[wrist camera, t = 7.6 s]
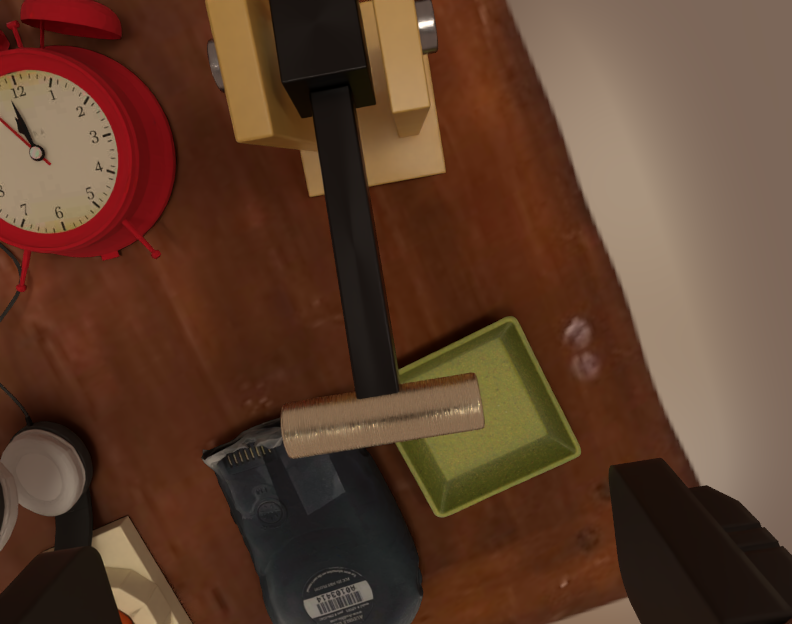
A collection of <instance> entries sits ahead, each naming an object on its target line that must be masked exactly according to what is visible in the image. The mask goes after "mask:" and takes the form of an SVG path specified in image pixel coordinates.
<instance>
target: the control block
mask: <svg viewBox="0 0 792 624" xmlns="http://www.w3.org/2000/svg"><path fill="white" fill-rule="evenodd" d="M91 546H92V547H94V548H95V549H97V551H98V552H99V553H100V555H101V557H102V560H103V563H104V566H105V570H106V573H107V576H108V579H109V583H110V586H111V589H112V592H113V595H114V599H115V602H116V605H117V608H118V610H119V611H121V612H122V613H124V614H125V615H126V616H128V618H129V619H130V620H131V621H132V623H133V624H192V622H191V621H190V619H189V617H188V616H187V614H186V612H185V611H184V609H183V607H182V605H181V604H180V602H179V600H178V599H177V597H176V595H175V594H174V592H173V590H172V589H171V587H170V585H169V584H168V582H167V580H166V579H165V577H164V575H163V574H162V572H161V570H160V569H159V567H158V565H157V564H156V562H155V560H154V559H153V557H152V555H151V554H150V552H149V550H148V549H147V547H146V545H145V544H144V542H143V540H142V539H141V537H140V535H139V533H138V532H137V530H136V528H135V527H134V525H133V523H132V522H131V520H130V518H129V517H128V516H126V517H124V518H121V519H119V520H117V521H114V522H112V523H110V524H107V525H105V526H103V527H100V528H98V529H96V530H93V535H92V545H91ZM51 551H54V548H51V549H49V550H47V551H44V552H51ZM44 552H42V553H44Z"/></svg>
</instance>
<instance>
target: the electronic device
mask: <svg viewBox="0 0 792 624" xmlns="http://www.w3.org/2000/svg"><path fill="white" fill-rule="evenodd" d="M280 418H281V417H280ZM280 418H277V419H274V420H271V421H268V422H265V423H262V424H260V425H257V426H254V427H252V428H250V429H248V430H246V431H244V432H242V433H241V434H240V435H238V436H237V437H236V438H235V439H233V440H232V441H230V442H228V443H226V444H223V445H220V446H217V447H215V448H213V449H211V450H203V455H202V460H203V461H204V463H205V464H206V465H208V466H209V467H210V468H211V469H213V470H214V471H215V474H216V476H217V479H218V483H219V485H220V487H221V489H222V491H223V493H224V496H225V498H226V500H227V502H228V504H229V507H230V511H231V516H232V518H233V520H234V522H235V523H236V524H237V525H238V528H239V530H240V533H241V535H242V536H243V540H244V542H245V545H246V547H247V548H248V550H249V552H250V555H251V558H252V560H253V563H254V566H255V570H256V572H257V574H258V576H259V578H260V584H261V588H262V592H263V600H264V603H265V606H266V609H267V612H268V614H269V616H270V618H271V620H272V622H273V624H411V622H412V621H413V619H414V617H415V615H416V613H417V611H418V610H419V607H420V604H421V601H422V597H423V589H422V586H421V583H422V575H421V572H420V569H419V567H418V564H419V557H418V553H417V550H416V547H415V544H414V541H413V539H412V536H411V534H410V532H409V530H408V527H407V525H406V523H405V521H404V519H403V517H402V514H401V511H400V510H399V508H398V506H397V503H396V501H395V499H394V497H393V495H392V494H391V491H390V489H389V487H388V485H387V483H386V482H385V480H384V478H383V476H382V474H381V472H380V471H379V469H378V467H377V465H376V463H375V461H374V460H373V458H372V456H371V455H370V453H369V452H368V451H367V450H366V448H359V449H353V450H347V451H341V452H334V453H328V454H322V455H315V456H309V457H303V458H296V459H293V458H290V457H289V456H288V454H287V452H286V450H285V447H284V444H283V439H282V434H281V422H280Z"/></svg>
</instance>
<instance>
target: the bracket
mask: <svg viewBox="0 0 792 624" xmlns="http://www.w3.org/2000/svg"><path fill="white" fill-rule="evenodd" d="M205 4H206V8H207V13H208V17H209V22H210V26H211V31H212V35H213V39H210V40H209V41H208V44H207V52H208V59H209V64H210V68H211V71H212V74H213V77H214V80H215V82H216V84H217V86H218V88H219V89H220V91H221V92H223V93H225V94H226V98H227V103H228V107H229V112H230V116H231V121H232V125H233V130H234V134H235V139H236V141H237V142H238V143H245V144H254V145H262V146H271V147H280V148H288V149H297V150H300V154H301V159H302V164H303V169H304V174H305V179H306V184H307V189H308V194H309V197H314V196H320V195H325V194H324V187H323V181H322V174H321V168H320V162H319V155H318V149H317V142H316V136H315V129H314V123H313V117H308V118H301V117H300V115H299V113H298V111H297V110H296V108H295V106H294V104H293V102H292V101H291V99H290V97H289V95H288V94H287V92H286V90H285V88H284V86H283V85H282V83H281V78H280V71H279V64H278V58H277V51H276V45H275V38H274V31H273V25H272V18H271V12H270V5H269V0H205ZM359 5H360V9H361V13H362V19H363V25H364V31H365V37H366V43H367V49H368V55H369V61H370V67H371V74H372V80H373V86H374V92H375V98H376V105H372V106H367V107H361V108H356V112H357V118H358V124H359V130H360V136H361V142H362V148H363V155H364V161H365V167H366V173H367V179H368V185H369V187H370V186H375V185H381V184H386V183H392V182H397V181H403V180H409V179H414V178H420V177H425V176H431V175H436V174H442V173H445V172H446V168H445V161H444V155H443V149H442V142H441V136H440V130H439V123H438V117H437V111H436V104H435V98H434V91H433V85H432V79H431V72H430V66H429V60H428V54H432V53H436V52H437V51H438V40H437V31H436V23H435V17H434V11H433V6H432V1H431V0H372V1H367V2H361V3H359Z"/></svg>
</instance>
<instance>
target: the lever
mask: <svg viewBox="0 0 792 624" xmlns="http://www.w3.org/2000/svg"><path fill="white" fill-rule="evenodd" d="M269 5H270V12H271V18H272V25H273V31H274V38H275V45H276V51H277V58H278V64H279V71H280V78H281V83H282V85H283V86H284V88H285V90H286V92H287V94H288V95H289V97H290V99H291V101H292V102H293V104H294V106H295V108H296V110H297V111H298V113H299V115H300V117H301V118H308V117H313V123H314V129H315V136H316V142H317V149H318V155H319V162H320V168H321V174H322V181H323V187H324V194H325V200H326V207H327V213H328V219H329V226H330V232H331V239H332V245H333V252H334V258H335V264H336V271H337V277H338V284H339V290H340V296H341V303H342V309H343V316H344V322H345V329H346V335H347V341H348V348H349V354H350V361H351V367H352V374H353V380H354V386H355V392H349V393H343V394H336V395H330V396H324V397H318V398H312V399H306V400H300V401H293V402H287V403H285V404H284V405H283V406H282V410H281V418H280V422H281V434H282V439H283V444H284V447H285V450H286V452H287V454H288V456H289V457H290V458H293V459H296V458H303V457H309V456H315V455H322V454H328V453H334V452H341V451H347V450H353V449H359V448H366V447H372V446H378V445H385V444H391V443H397V442H404V441H410V440H416V439H423V438H429V437H435V436H442V435H448V434H454V433H461V432H467V431H473V430H480V429H483V428H484V426H485V420H484V412H483V406H482V400H481V395H480V390H479V385H478V380H477V377H476V375H475V373H472V372H471V373H465V374H459V375H453V376H447V377H441V378H435V379H428V380H422V381H416V382H410V383H404V384H401V382H400V376H399V370H398V364H397V358H396V351H395V345H394V339H393V333H392V327H391V321H390V315H389V308H388V302H387V296H386V290H385V284H384V278H383V271H382V265H381V259H380V253H379V247H378V241H377V235H376V228H375V222H374V216H373V210H372V204H371V198H370V192H369V185H368V179H367V173H366V167H365V161H364V155H363V148H362V142H361V136H360V130H359V124H358V118H357V112H356V108H361V107H367V106H372V105H376V98H375V92H374V86H373V80H372V74H371V67H370V61H369V55H368V49H367V43H366V37H365V31H364V25H363V19H362V13H361V9H360V5H359V0H269Z"/></svg>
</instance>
